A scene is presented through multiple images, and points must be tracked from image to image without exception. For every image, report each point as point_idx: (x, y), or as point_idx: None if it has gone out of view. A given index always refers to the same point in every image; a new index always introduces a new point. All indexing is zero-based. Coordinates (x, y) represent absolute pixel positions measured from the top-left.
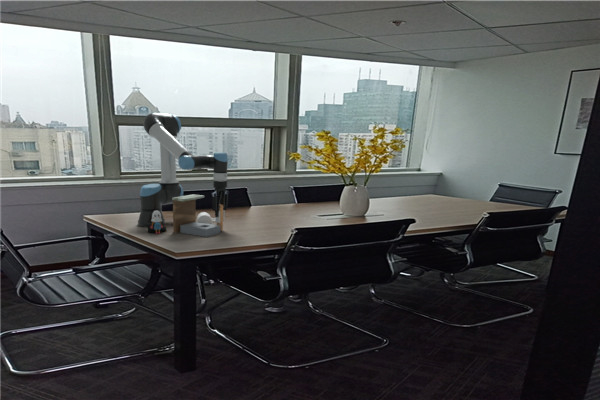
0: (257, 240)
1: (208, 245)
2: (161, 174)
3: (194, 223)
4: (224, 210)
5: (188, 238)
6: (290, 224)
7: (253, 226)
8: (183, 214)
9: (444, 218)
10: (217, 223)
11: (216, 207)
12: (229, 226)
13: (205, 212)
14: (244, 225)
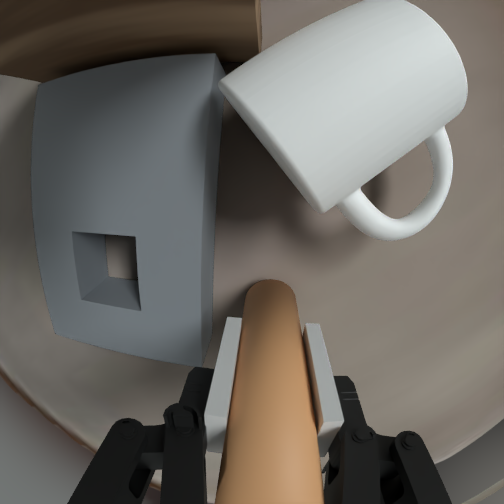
0: None
1: (25, 368)
2: None
3: (136, 112)
4: (321, 454)
5: (15, 243)
6: (473, 436)
7: (442, 385)
8: (26, 33)
9: (485, 493)
10: (242, 325)
11: (131, 485)
12: (424, 284)
13: (452, 58)
14: (461, 341)
